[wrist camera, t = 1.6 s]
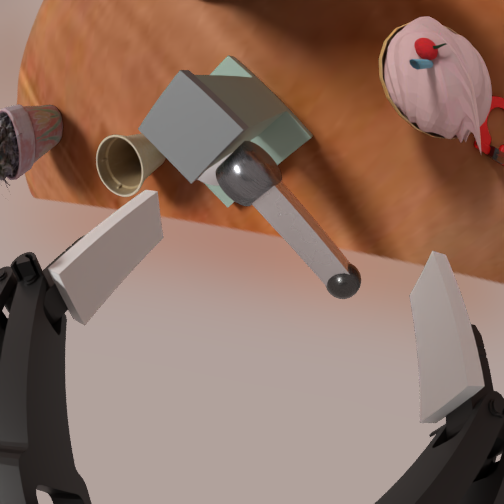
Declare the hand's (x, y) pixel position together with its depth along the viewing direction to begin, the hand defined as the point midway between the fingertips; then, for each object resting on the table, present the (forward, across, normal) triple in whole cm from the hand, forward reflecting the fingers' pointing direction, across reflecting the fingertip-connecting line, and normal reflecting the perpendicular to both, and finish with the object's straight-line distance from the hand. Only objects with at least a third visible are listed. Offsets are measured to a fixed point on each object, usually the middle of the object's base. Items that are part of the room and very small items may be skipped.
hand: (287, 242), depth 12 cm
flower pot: (+26, -26, -5) cm, 37 cm away
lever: (+11, 0, -4) cm, 12 cm away
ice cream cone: (+26, +10, +10) cm, 30 cm away
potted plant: (+26, -56, 0) cm, 62 cm away
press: (+26, -12, -1) cm, 29 cm away
